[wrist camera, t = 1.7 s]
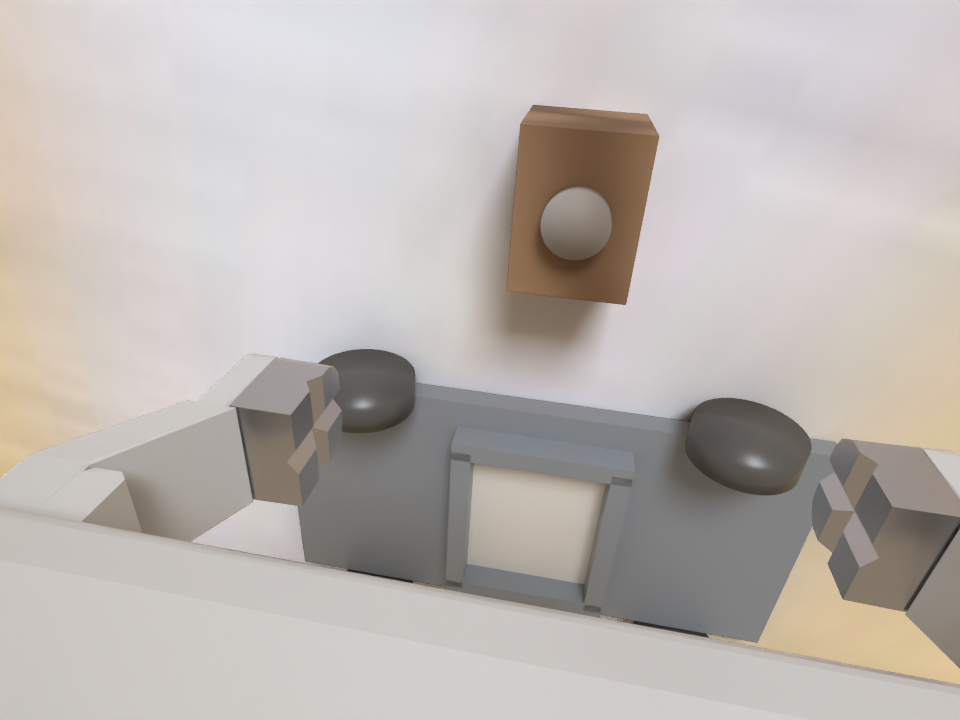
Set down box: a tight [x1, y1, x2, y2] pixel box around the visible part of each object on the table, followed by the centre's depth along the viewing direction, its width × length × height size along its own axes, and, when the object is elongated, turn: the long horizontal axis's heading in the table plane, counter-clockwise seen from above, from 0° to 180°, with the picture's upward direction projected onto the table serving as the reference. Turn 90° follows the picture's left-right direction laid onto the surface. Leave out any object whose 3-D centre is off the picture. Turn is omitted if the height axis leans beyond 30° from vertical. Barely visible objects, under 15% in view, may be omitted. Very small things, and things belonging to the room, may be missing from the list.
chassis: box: [298, 349, 837, 643], centre depth 32 cm, size 28×17×5 cm, turn 87°
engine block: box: [506, 105, 659, 305], centre depth 23 cm, size 4×6×6 cm
